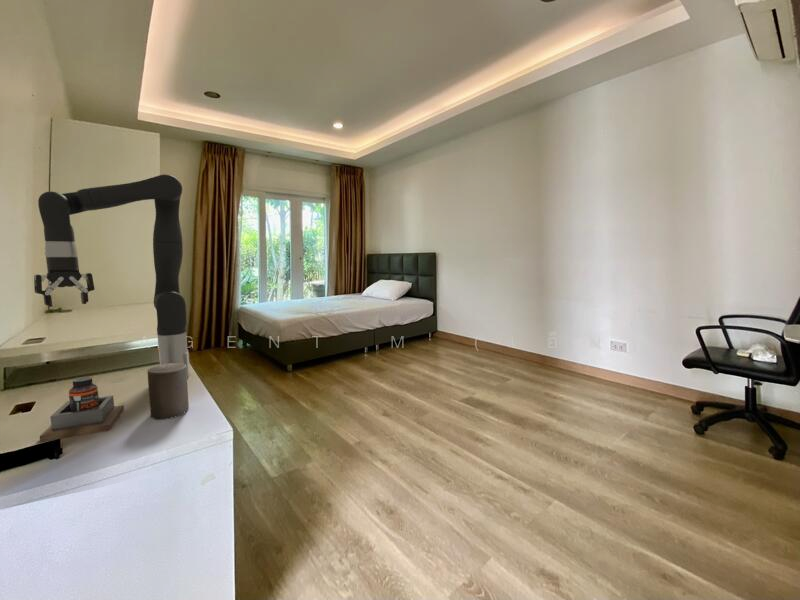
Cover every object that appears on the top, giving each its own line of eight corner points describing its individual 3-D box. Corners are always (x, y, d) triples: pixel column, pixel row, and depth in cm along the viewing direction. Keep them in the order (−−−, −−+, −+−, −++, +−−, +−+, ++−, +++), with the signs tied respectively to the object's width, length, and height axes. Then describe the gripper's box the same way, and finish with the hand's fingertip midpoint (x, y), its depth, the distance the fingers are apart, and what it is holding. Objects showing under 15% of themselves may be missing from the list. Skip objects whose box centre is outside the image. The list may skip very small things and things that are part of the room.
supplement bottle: (83, 424, 95) (78, 383, 94) (65, 422, 96) (61, 382, 95) (106, 414, 101) (101, 376, 99) (89, 413, 102) (84, 374, 101)
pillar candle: (148, 422, 99) (144, 370, 98) (153, 409, 108) (149, 361, 106) (188, 415, 104) (185, 365, 102) (190, 403, 112) (187, 357, 111)
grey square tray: (114, 408, 105) (113, 395, 104) (103, 423, 96) (101, 408, 95) (68, 415, 100) (67, 401, 100) (52, 431, 91) (50, 416, 91)
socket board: (124, 409, 107) (123, 405, 107) (110, 429, 95) (109, 424, 95) (63, 418, 101) (63, 413, 101) (40, 441, 89) (39, 436, 89)
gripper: (34, 255, 108) (41, 308, 110) (93, 255, 120) (98, 303, 122) (28, 255, 112) (34, 307, 114) (86, 256, 124) (91, 302, 126)
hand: (67, 305), depth 118 cm, fingers open, 8 cm apart
